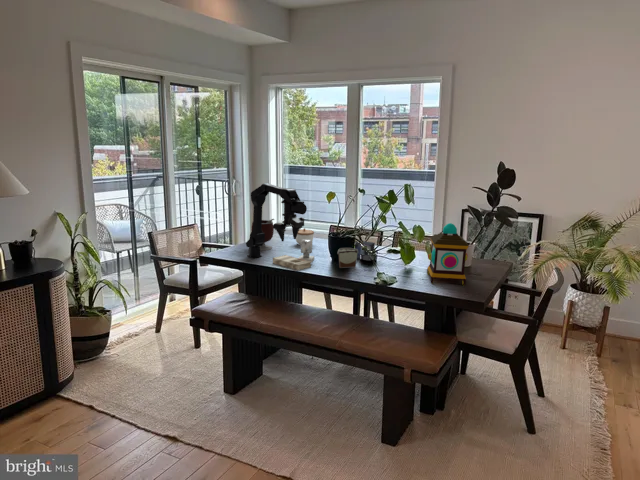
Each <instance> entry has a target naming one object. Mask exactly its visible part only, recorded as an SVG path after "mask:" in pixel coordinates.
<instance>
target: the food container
mask: <svg viewBox="0 0 640 480" xmlns="http://www.w3.org/2000/svg"><path fill="white" fill-rule="evenodd" d="M358 253H359V252H358V249H355V247H354V248H352V247H340V248H339V249H338V250H337V253H336V254H337V255H338V265H339V266H338V267H339V269H346V268H356V267H357V261H358V260H357V254H358Z"/></svg>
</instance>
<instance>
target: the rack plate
mask: <svg viewBox="0 0 640 480" xmlns="http://www.w3.org/2000/svg"><path fill="white" fill-rule="evenodd" d="M272 264H275V265H279V266H282V267H286V268H289V269H293V270H297V271H301V270H304V268H305V269H308V268H311V267H312V263H311V262H310V261H306V260H303V259H299V257H298V258H297V257H294V256H292V255H291V256H290V255H287V254H285V255H284V254H283V255H280V256H275V257H272ZM300 269H301V270H300Z"/></svg>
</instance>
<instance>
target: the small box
mask: <svg viewBox="0 0 640 480" xmlns="http://www.w3.org/2000/svg"><path fill="white" fill-rule="evenodd" d="M362 241H363V243H364V244H365V245H366V246H367V248H368V249H369V250H370V251H373V250H374V251H375V246H376V245H375V244H376V243H375V242H372V241H365V240H362ZM354 249H358V252H359V253H358V254H357V260H356V261H358V260H359V261H361V260H360V255H361V254H362V255H368V252H366V251H364V250H362V246H361V244H360V243H358V242H357V241H355V242H354Z"/></svg>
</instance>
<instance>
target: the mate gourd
mask: <svg viewBox="0 0 640 480" xmlns="http://www.w3.org/2000/svg"><path fill="white" fill-rule="evenodd" d="M273 221H275V219H274V218H270V219H269V220H268V219H262V228H261V229H262V232H263V233H265V240H264V242H263V245H262V246H259V247H260V251H269V250H270V251H271V250H273V246H271V245H267V244H266V243H267V242H269V241H271V239H272V238H273V235H274V230H275V229H273V225H274V222H273ZM251 223H252V224H251V231H252V230H253V221H252V222H251Z"/></svg>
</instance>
